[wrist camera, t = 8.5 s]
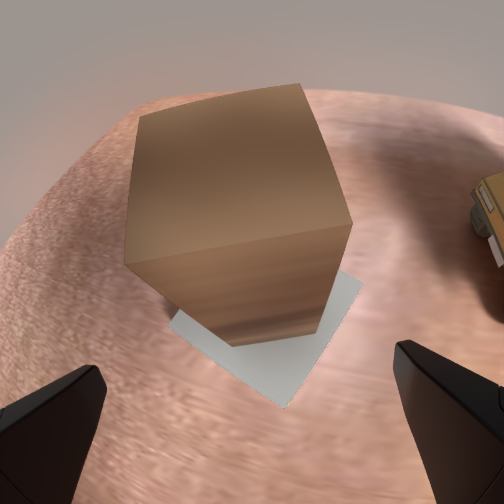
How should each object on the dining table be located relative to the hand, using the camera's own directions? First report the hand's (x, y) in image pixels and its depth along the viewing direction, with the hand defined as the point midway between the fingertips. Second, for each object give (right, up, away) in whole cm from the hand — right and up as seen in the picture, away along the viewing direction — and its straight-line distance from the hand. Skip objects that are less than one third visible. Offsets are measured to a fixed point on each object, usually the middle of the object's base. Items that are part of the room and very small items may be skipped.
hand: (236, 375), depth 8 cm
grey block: (+2, -1, +14) cm, 14 cm away
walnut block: (+1, 0, +11) cm, 11 cm away
